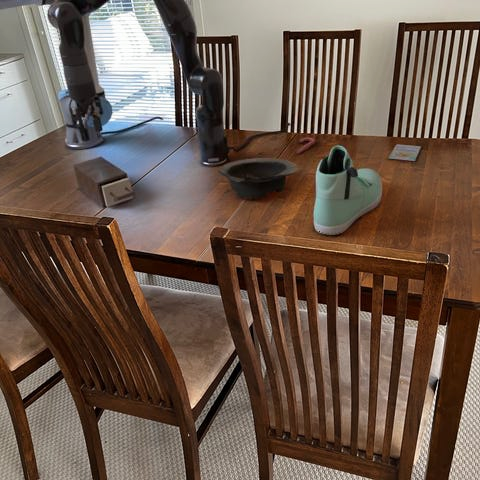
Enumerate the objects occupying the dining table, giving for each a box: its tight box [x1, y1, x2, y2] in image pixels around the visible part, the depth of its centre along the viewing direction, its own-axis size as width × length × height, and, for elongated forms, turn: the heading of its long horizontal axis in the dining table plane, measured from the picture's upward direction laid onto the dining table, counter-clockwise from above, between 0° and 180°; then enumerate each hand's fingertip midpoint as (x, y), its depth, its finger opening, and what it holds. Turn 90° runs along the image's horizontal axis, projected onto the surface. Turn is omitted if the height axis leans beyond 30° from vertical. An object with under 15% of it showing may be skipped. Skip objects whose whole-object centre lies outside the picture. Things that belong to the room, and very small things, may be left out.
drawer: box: [100, 177, 136, 208], centre depth 154 cm, size 25×9×7 cm, turn 37°
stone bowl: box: [217, 157, 299, 201], centre depth 152 cm, size 25×25×9 cm
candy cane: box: [295, 136, 316, 155], centre depth 183 cm, size 6×15×2 cm, turn 145°
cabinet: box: [72, 156, 129, 208], centre depth 158 cm, size 20×10×8 cm, turn 37°
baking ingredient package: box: [388, 143, 422, 162], centre depth 171 cm, size 9×1×15 cm
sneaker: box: [313, 145, 383, 236], centre depth 133 cm, size 14×35×20 cm, turn 152°
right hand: (92, 135), depth 143 cm, fingers open, 8 cm apart
